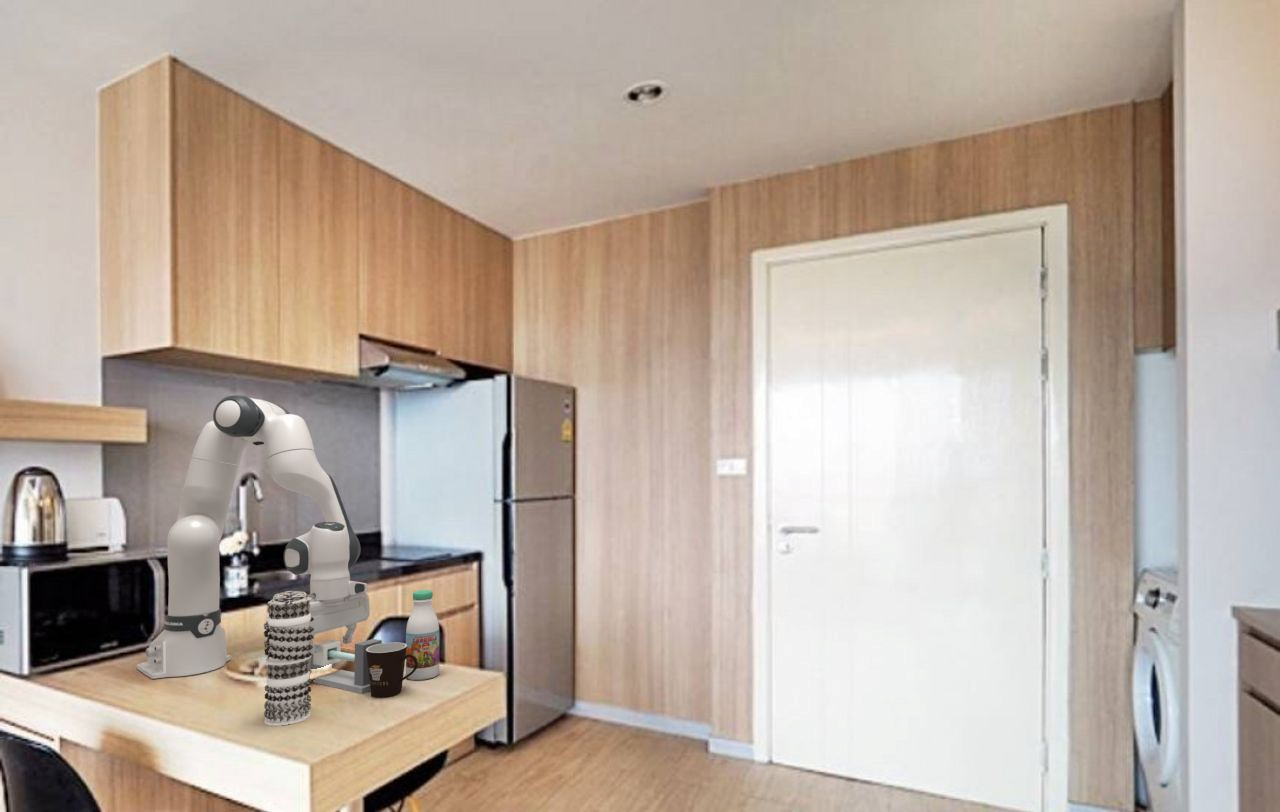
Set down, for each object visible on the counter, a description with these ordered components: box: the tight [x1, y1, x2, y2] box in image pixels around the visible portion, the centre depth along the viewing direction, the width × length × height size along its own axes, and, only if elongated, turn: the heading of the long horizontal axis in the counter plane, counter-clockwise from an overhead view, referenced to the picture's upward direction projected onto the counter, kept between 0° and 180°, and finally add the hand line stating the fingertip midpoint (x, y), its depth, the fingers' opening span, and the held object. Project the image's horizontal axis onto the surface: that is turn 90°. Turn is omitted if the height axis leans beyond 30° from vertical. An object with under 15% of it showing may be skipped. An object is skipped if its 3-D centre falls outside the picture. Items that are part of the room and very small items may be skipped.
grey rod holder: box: [308, 638, 383, 695], centre depth 165 cm, size 22×7×10 cm, turn 59°
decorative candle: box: [263, 590, 314, 727], centre depth 143 cm, size 9×9×25 cm
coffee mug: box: [366, 641, 418, 699], centre depth 156 cm, size 12×9×10 cm
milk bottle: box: [405, 589, 440, 681], centre depth 169 cm, size 8×8×20 cm
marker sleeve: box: [313, 639, 342, 666], centre depth 168 cm, size 4×5×5 cm
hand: (330, 648), depth 169 cm, fingers open, 8 cm apart
